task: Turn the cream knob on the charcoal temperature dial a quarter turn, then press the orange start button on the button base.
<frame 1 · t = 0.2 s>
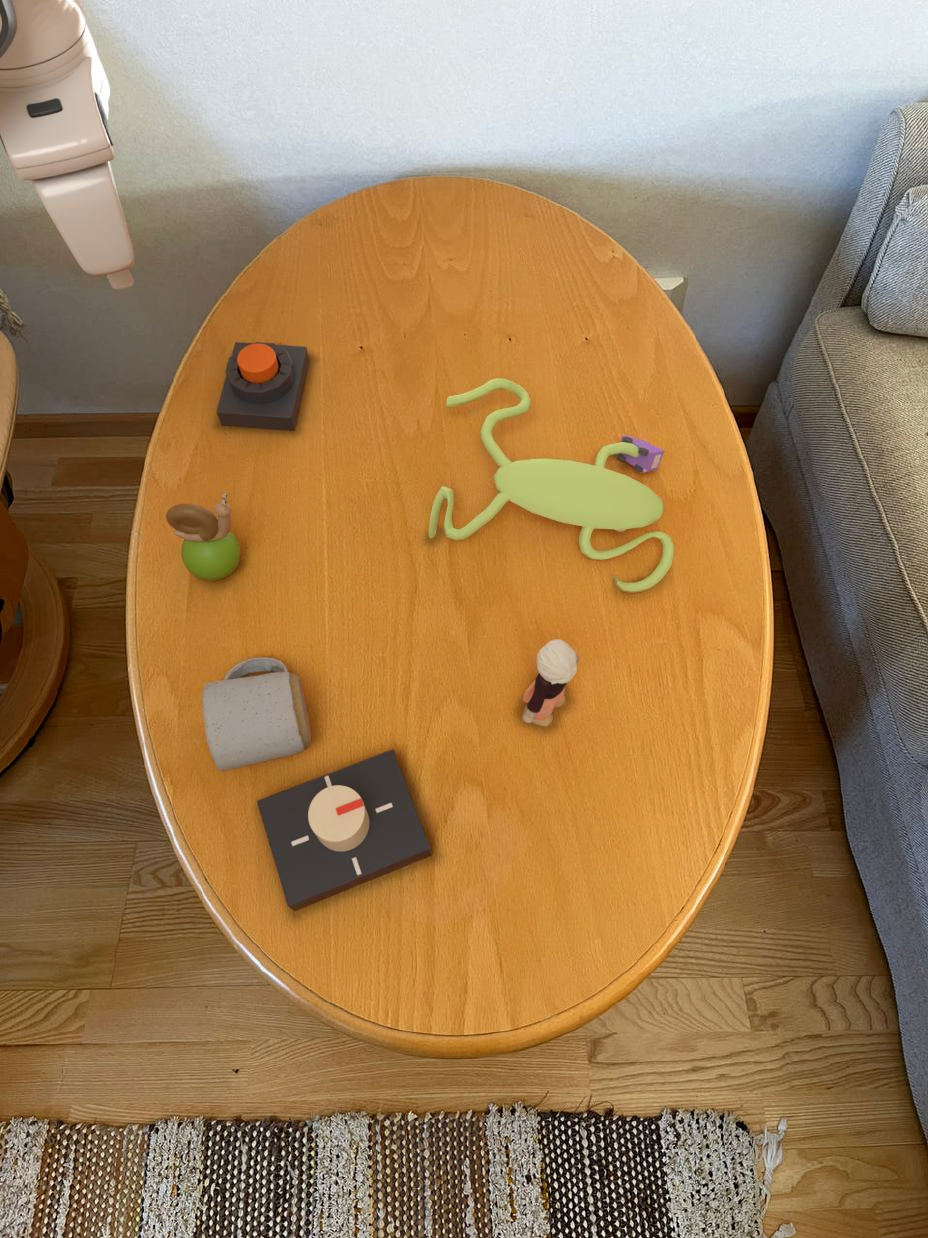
hand: (110, 244, 70), 23 cm above the table, tool pointing down, fingers open, 8 cm apart
figurine: (545, 498, 87), on the table
dial panel: (346, 832, 71), on the table
button base: (266, 392, 92), on the table
start button: (257, 363, 88), point 4 cm above the table, slide at 0.1 cm
dial: (339, 818, 67), point 5 cm above the table, hinge at 0.0°
snail figurine: (224, 567, 83), on the table
grandmother figurine: (541, 709, 77), on the table
ceramic mug: (262, 720, 76), on the table
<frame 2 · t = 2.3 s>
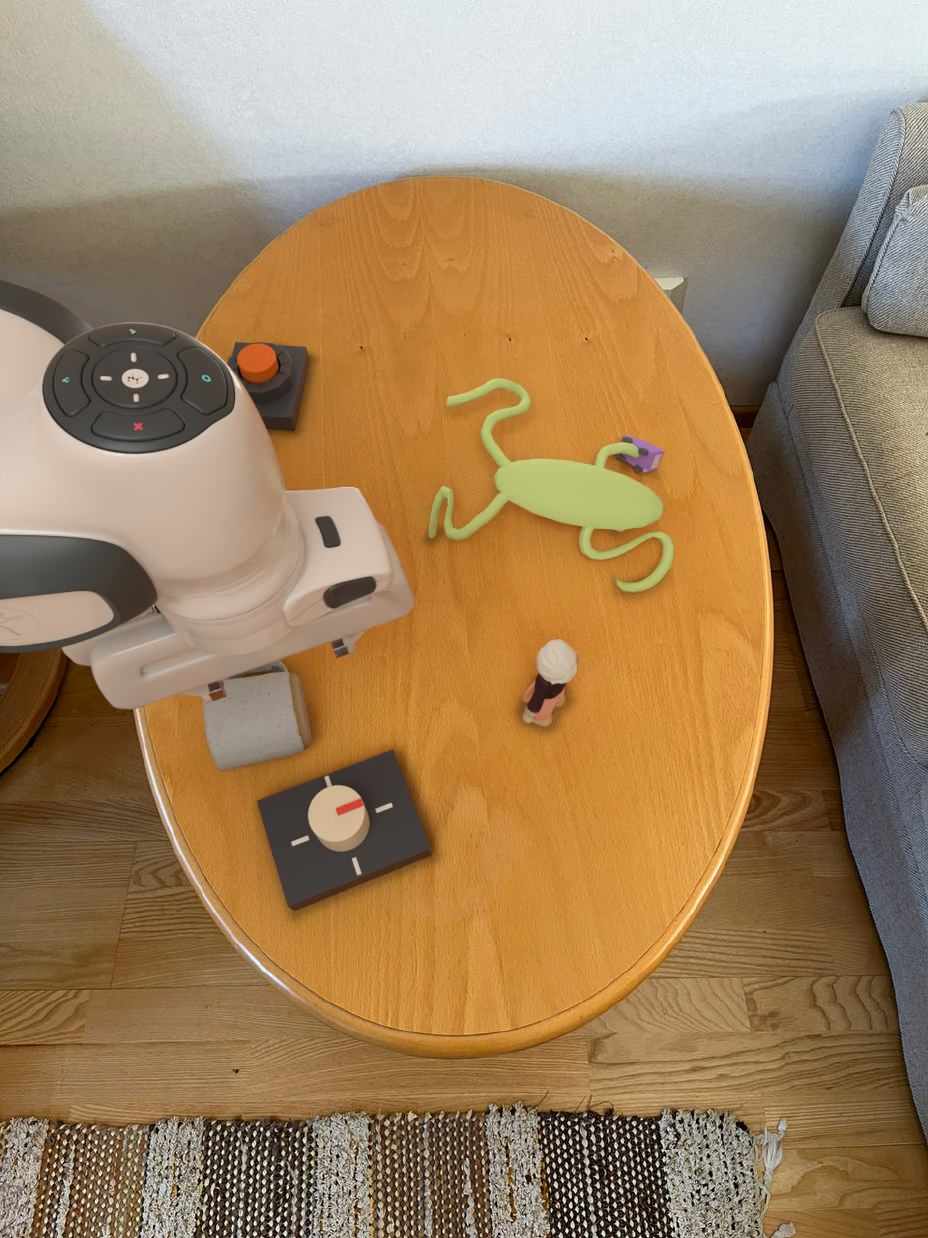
hand: (279, 668, 60), 17 cm above the table, tool pointing down, fingers open, 8 cm apart
nothing on the table moved.
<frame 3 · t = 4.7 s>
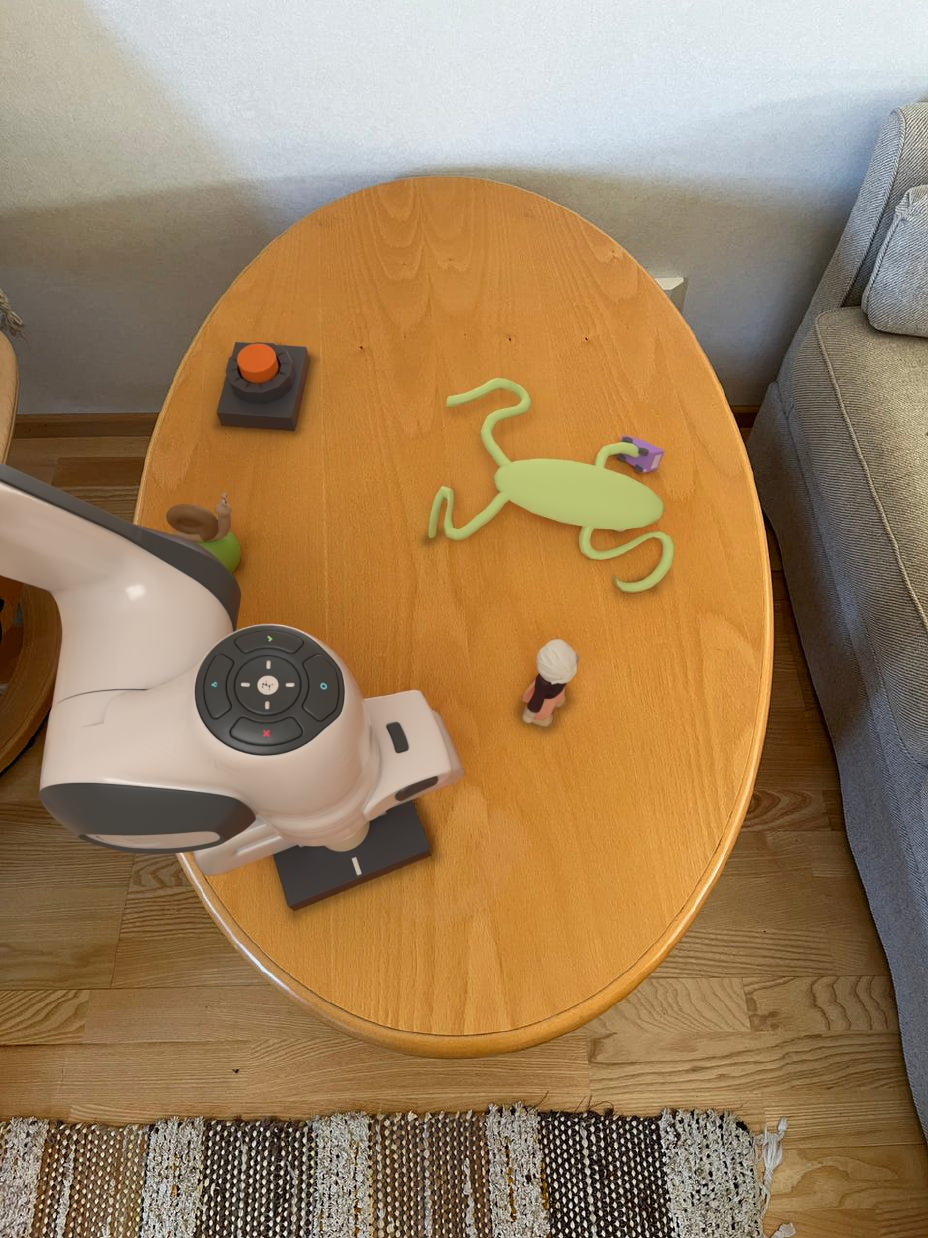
hand: (341, 821, 68), 4 cm above the table, tool pointing down, fingers closed on dial, 4 cm apart
dial: (339, 818, 67), point 5 cm above the table, hinge at -0.1°, touching gripper
everything else where it was.
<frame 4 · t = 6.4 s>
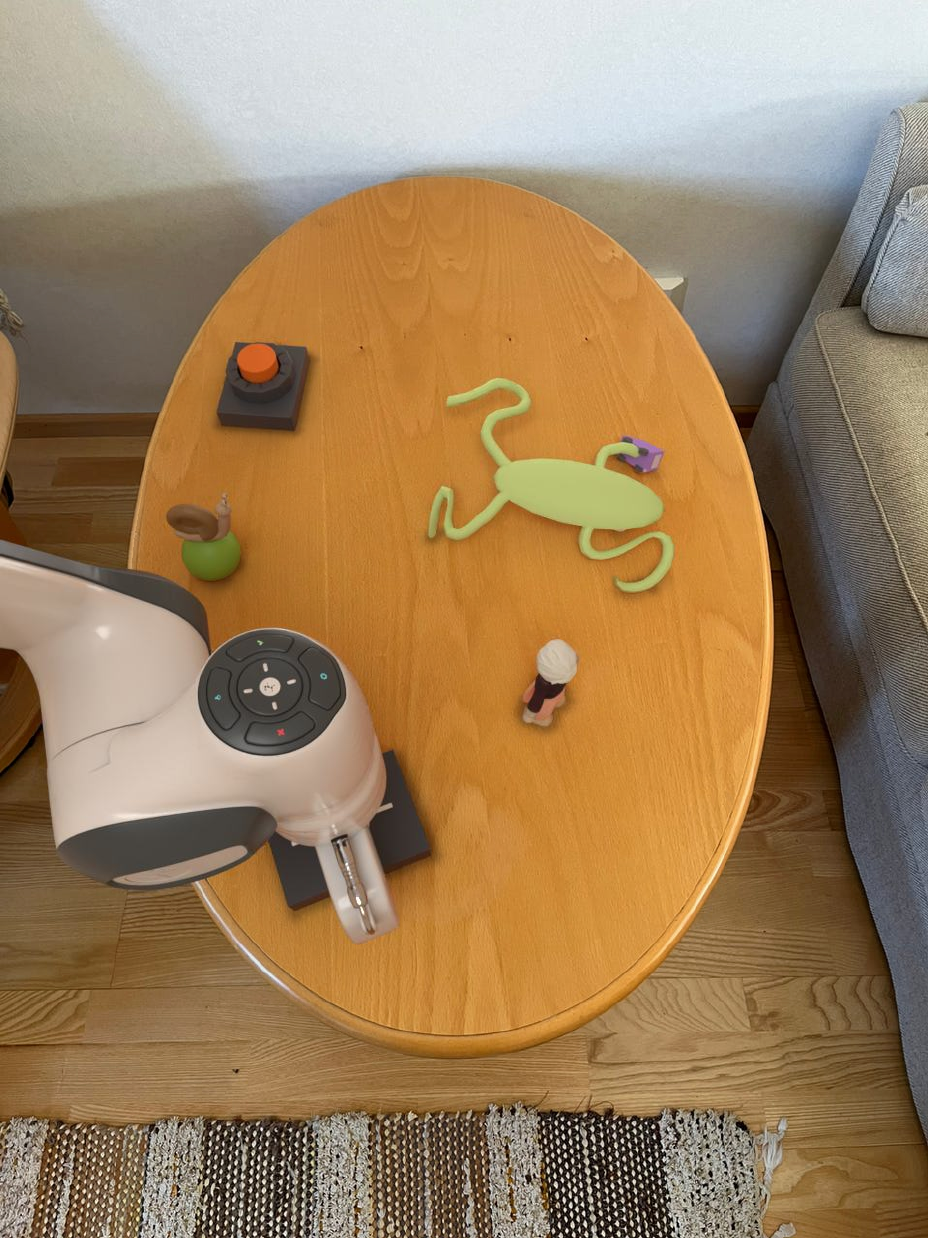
hand: (344, 821, 68), 4 cm above the table, tool pointing down, fingers closed on dial, 4 cm apart
dial: (339, 818, 67), point 5 cm above the table, hinge at 87.4°, touching gripper
everything else where it was.
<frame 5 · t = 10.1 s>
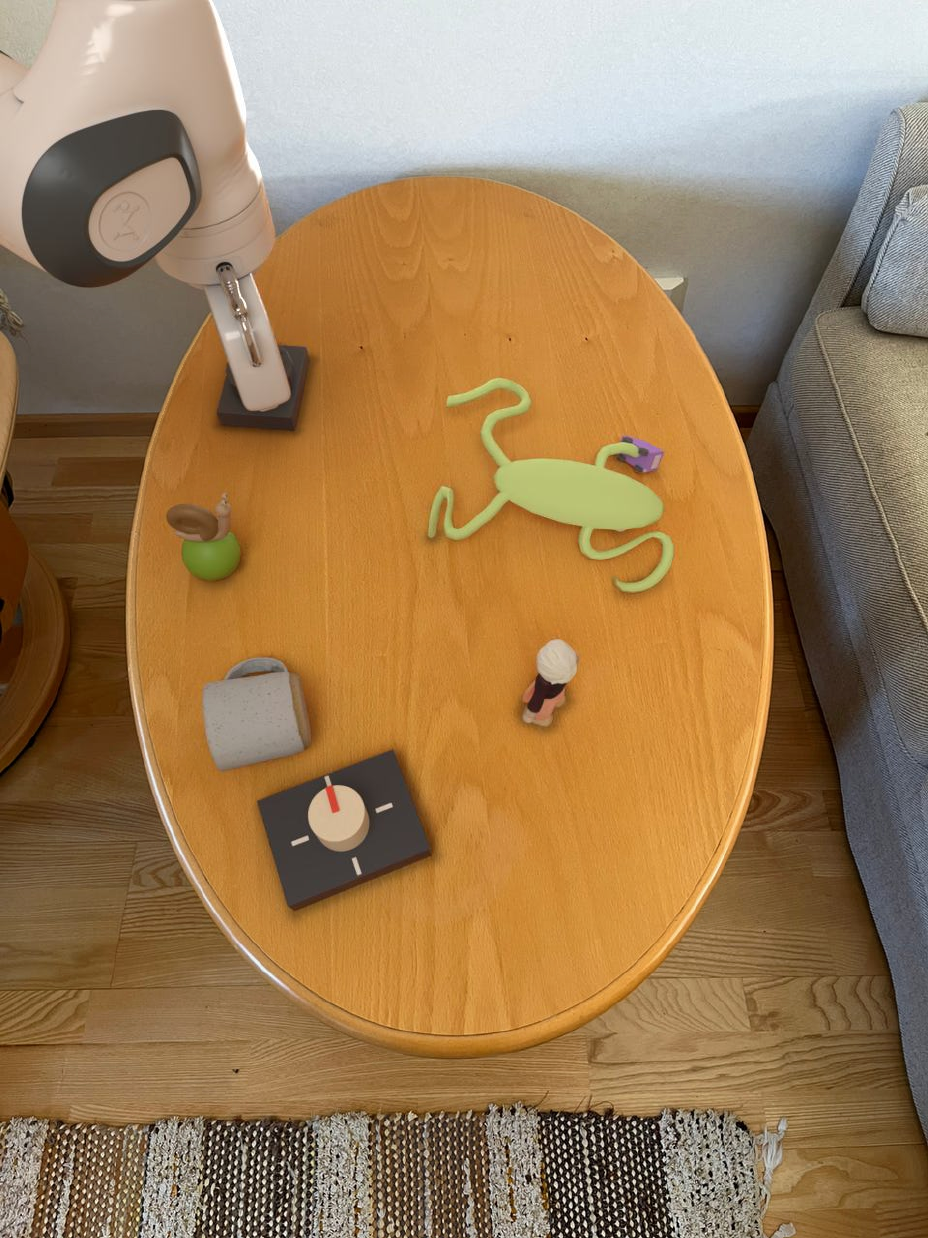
hand: (253, 362, 71), 18 cm above the table, tool pointing down, fingers open, 8 cm apart
dial: (339, 818, 67), point 5 cm above the table, hinge at 87.4°
everything else where it was.
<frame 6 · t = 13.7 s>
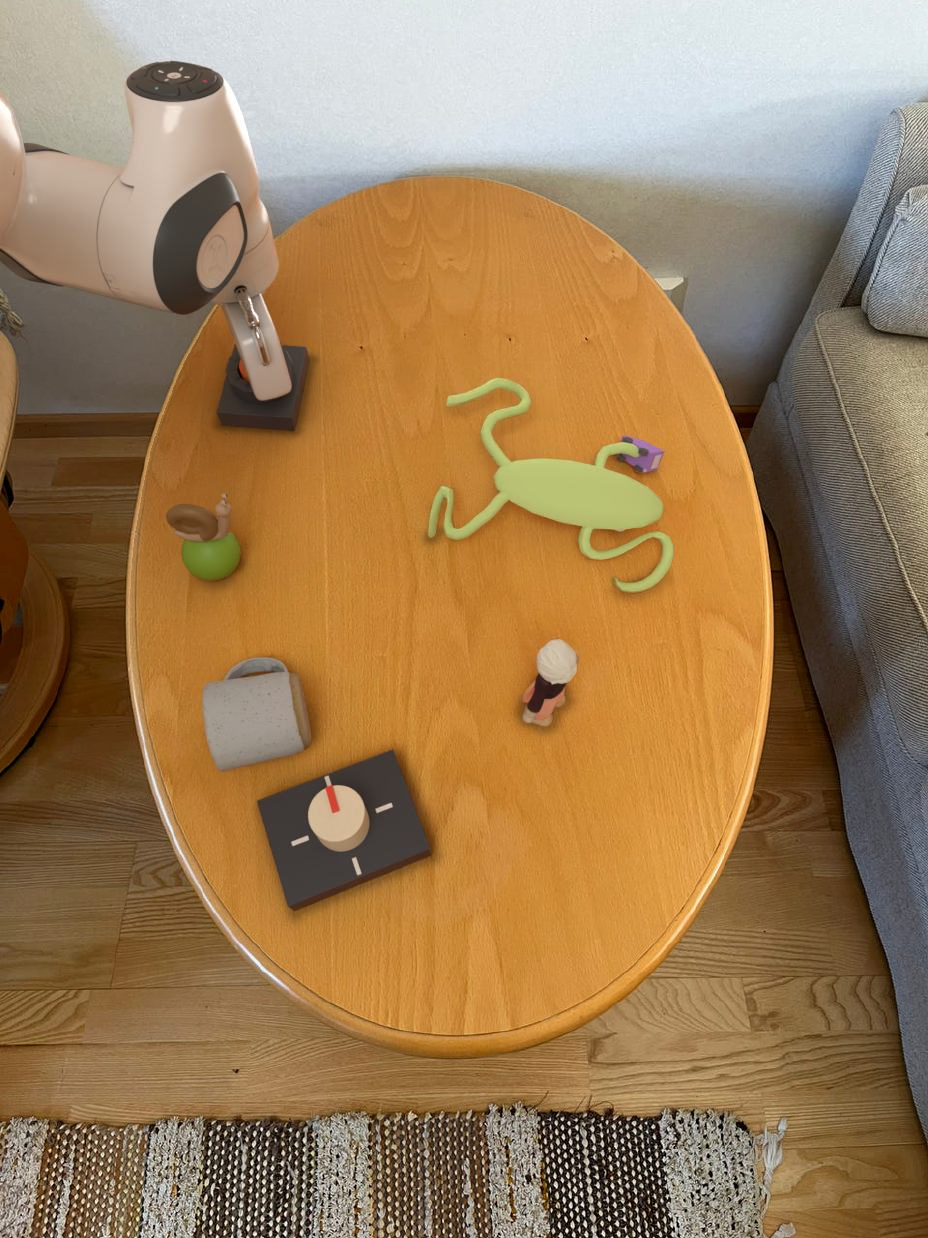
hand: (259, 363, 88), 5 cm above the table, tool pointing down, fingers closed, pressing on start button
start button: (259, 369, 89), point 4 cm above the table, slide at -0.7 cm, touching gripper
everything else where it was.
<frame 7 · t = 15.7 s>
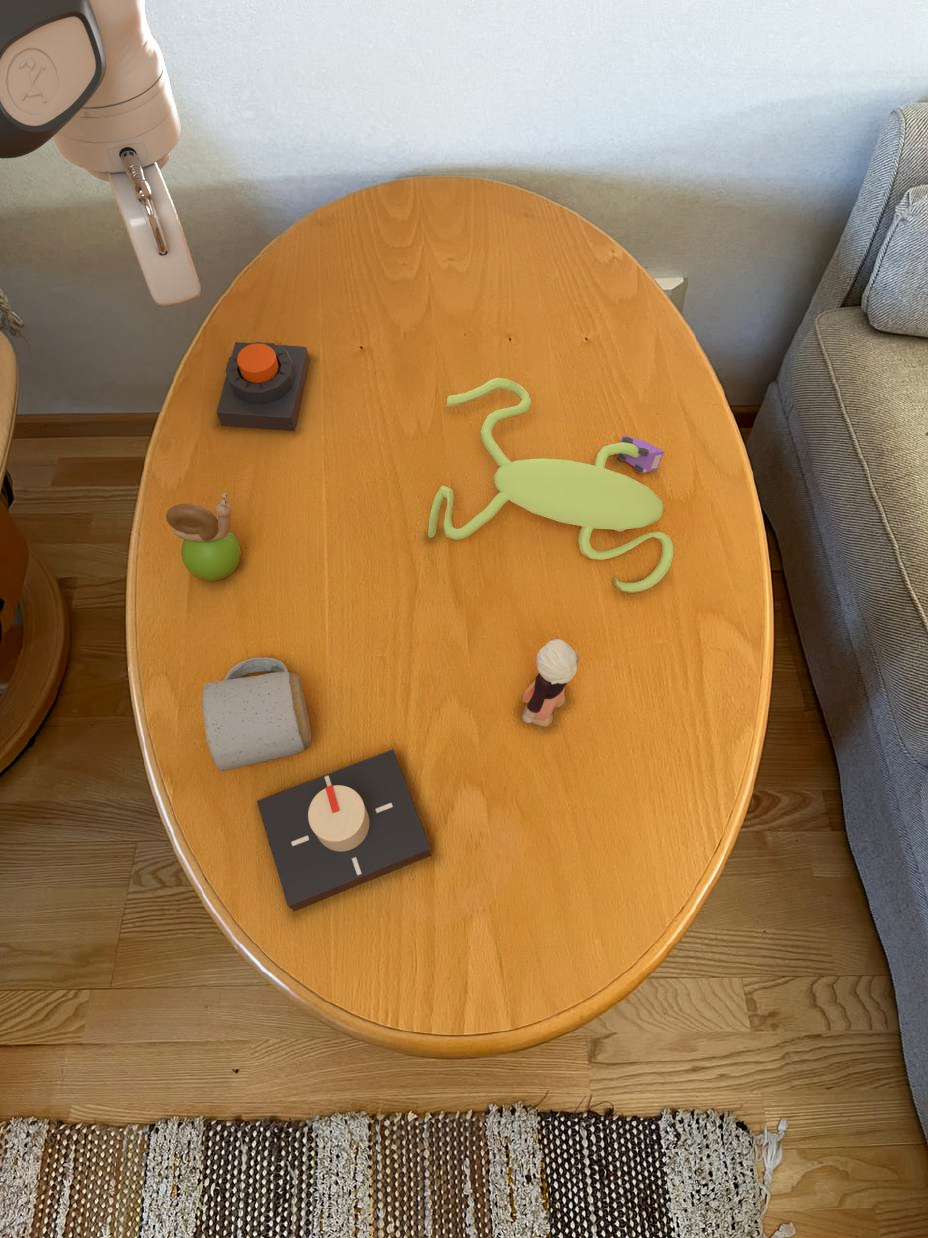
hand: (166, 271, 71), 21 cm above the table, tool pointing down, fingers closed
start button: (257, 363, 88), point 4 cm above the table, slide at 0.1 cm
everything else where it was.
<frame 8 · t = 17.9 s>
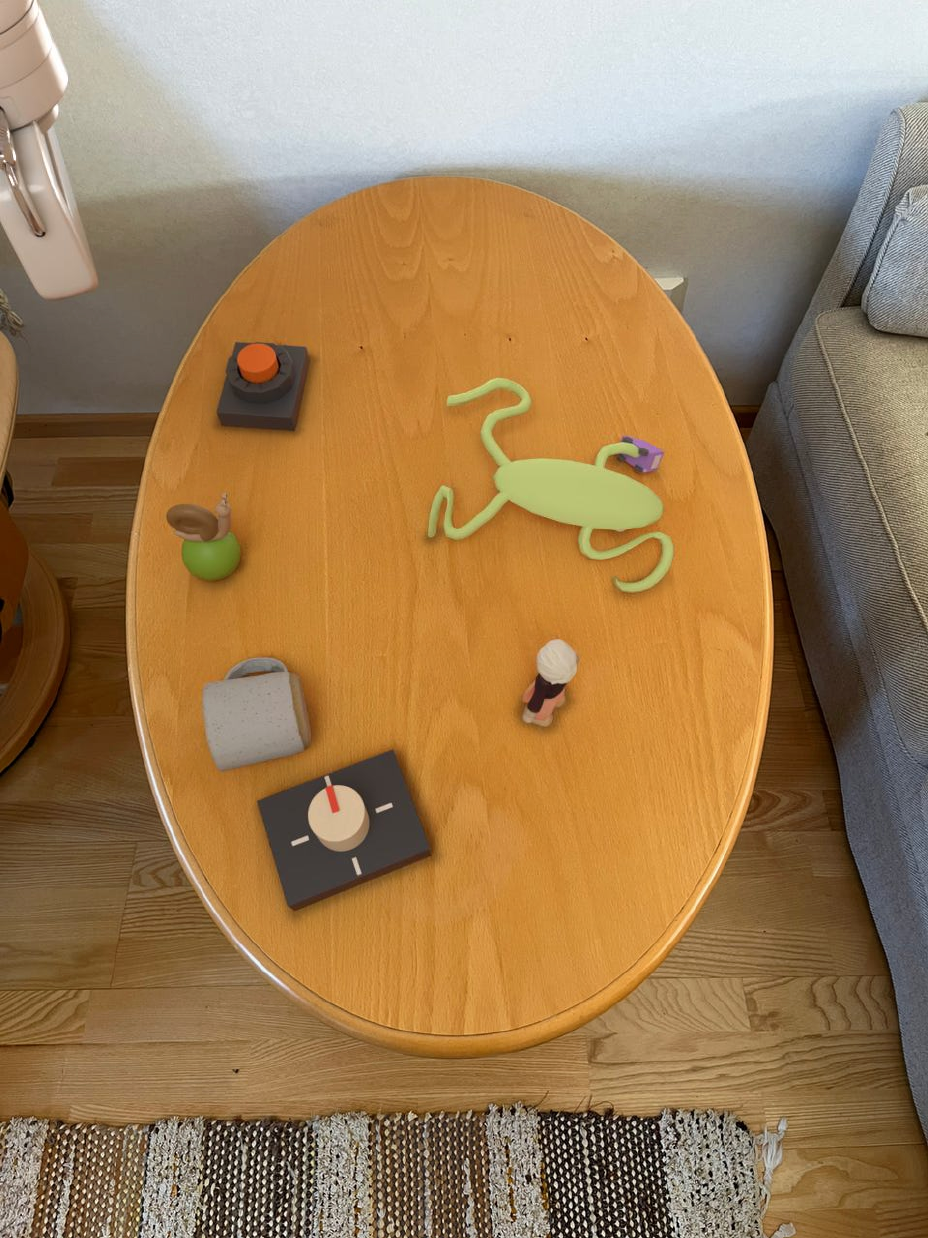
hand: (76, 259, 60), 29 cm above the table, tool pointing down, fingers closed
nothing on the table moved.
at the end: dial at +87° (first picture: +0°); start button pushed in 1.0 cm at the most during the clip, back to where it started at the end; start button slide at 0.1 cm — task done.
